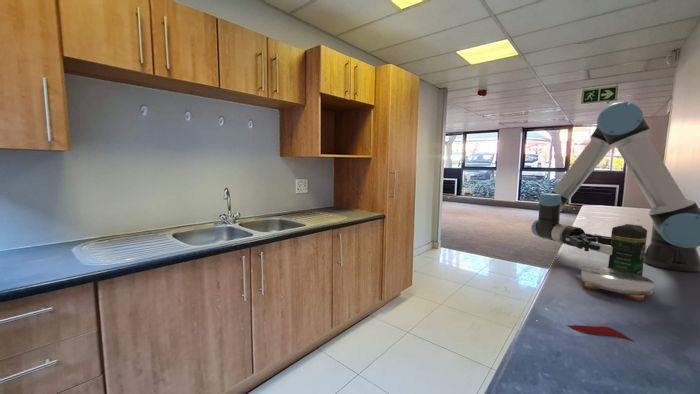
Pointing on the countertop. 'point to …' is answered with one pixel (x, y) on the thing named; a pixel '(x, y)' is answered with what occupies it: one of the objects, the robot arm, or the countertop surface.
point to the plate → (617, 282)
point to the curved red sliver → (598, 330)
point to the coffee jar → (628, 248)
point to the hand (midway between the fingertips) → (628, 249)
